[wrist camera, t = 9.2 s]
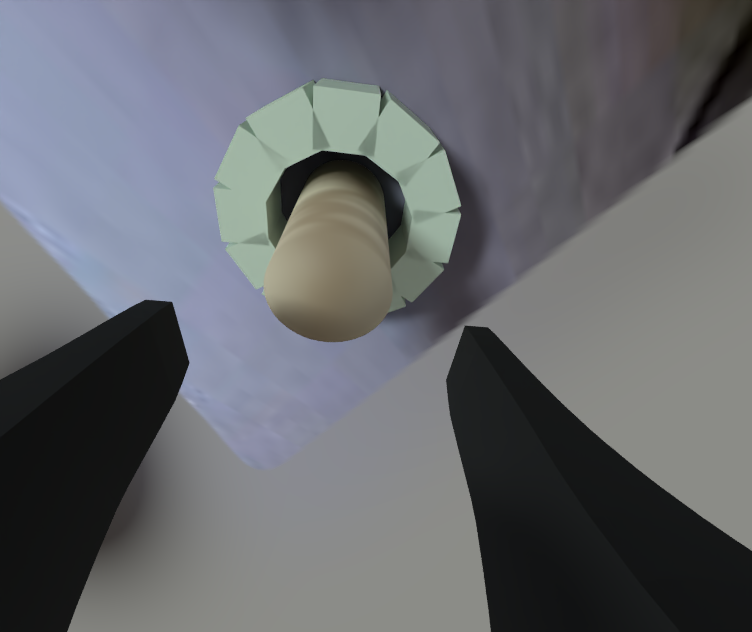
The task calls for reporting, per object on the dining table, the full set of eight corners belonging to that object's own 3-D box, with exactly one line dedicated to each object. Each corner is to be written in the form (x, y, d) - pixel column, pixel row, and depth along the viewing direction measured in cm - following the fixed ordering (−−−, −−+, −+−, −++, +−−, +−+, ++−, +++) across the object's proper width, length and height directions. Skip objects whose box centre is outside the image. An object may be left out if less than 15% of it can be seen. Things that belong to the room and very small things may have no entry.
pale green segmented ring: (470, 98, 15) (489, 109, 12) (423, 295, 21) (430, 328, 19) (223, 64, 14) (194, 69, 12) (249, 280, 20) (232, 312, 18)
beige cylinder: (389, 164, 16) (402, 242, 10) (379, 244, 19) (384, 346, 13) (301, 154, 16) (258, 227, 10) (302, 236, 19) (268, 337, 12)
